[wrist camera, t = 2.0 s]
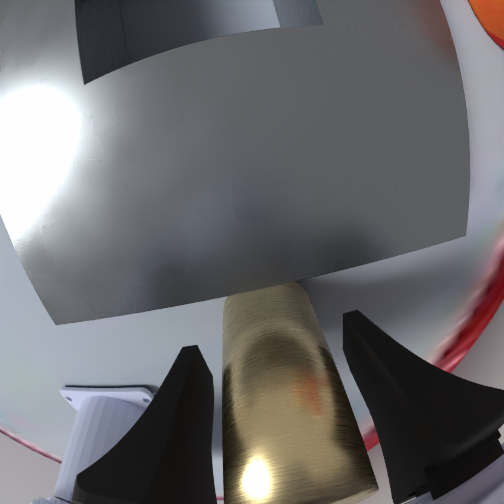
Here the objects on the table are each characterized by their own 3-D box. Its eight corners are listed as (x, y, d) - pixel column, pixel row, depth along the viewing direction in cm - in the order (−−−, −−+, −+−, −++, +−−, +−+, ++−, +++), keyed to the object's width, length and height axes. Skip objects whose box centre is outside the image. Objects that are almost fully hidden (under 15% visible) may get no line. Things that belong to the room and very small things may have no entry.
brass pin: (312, 332, 13) (367, 501, 5) (235, 349, 14) (245, 525, 5) (304, 264, 12) (393, 473, 4) (212, 285, 12) (200, 509, 4)
